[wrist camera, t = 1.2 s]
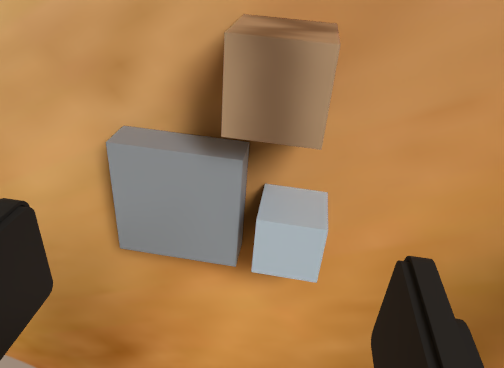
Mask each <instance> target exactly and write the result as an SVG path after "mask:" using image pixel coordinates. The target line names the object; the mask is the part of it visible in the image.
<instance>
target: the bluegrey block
mask: <svg viewBox="0 0 504 368" xmlns="http://www.w3.org/2000/svg"><path fill="white" fill-rule="evenodd" d="M327 233H328V192H321V191H314V190H307V189H300V188H293V187H285V186H278V185H271V184H265V186H264V190H263V194H262V199H261V203H260V207H259V211H258V215H257V219H256V229H255V239H254V250H253V260H252V271H251V272H255V273H261V274H267V275H273V276H279V277H285V278H292V279H298V280H304V281H310V282H316V283H317V279H318V275H319V270H320V265H321V261H322V256H323V252H324V247H325V242H326V238H327Z"/></svg>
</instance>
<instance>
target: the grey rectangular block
mask: <svg viewBox="0 0 504 368" xmlns="http://www.w3.org/2000/svg"><path fill="white" fill-rule="evenodd" d="M106 146H107V154H108V161H109V169H110V176H111V184H112V191H113V199H114V206H115V214H116V221H117V229H118V236H119V244H120V248H122V249H128V250H134V251H140V252H147V253H153V254H159V255H166V256H172V257H178V258H184V259H191V260H197V261H203V262H209V263H216V264H222V265H228V266H235V267H236V264H237V260H238V256H239V253H240V249H241V245H242V236H243V223H244V209H245V196H246V182H247V169H248V155H249V142H244V141H236V140H229V139H221V138H213V137H206V136H198V135H190V134H183V133H175V132H167V131H160V130H152V129H144V128H137V127H129V126H123V127H122V128H120V129H119V130H118V131H117V132H116V133H115V134H114V135H113V136H112V137H111V138H110V139H109V140H108V141H107V142H106Z"/></svg>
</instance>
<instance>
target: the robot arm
mask: <svg viewBox="0 0 504 368" xmlns="http://www.w3.org/2000/svg"><path fill="white" fill-rule="evenodd" d="M52 287H53V280H52V276H51V272H50V268H49V265H48V261H47V257H46V253H45V249H44V246H43V242H42V238H41V234H40V230H39V226H38V223H37V219H36V215H35V212H34V210H33V209H32V208H30V207H29V204H28V203H27V202H25V201H20V200H13V199H6V198H3V199H0V360H1V359H2V357H3V356H4V355H5V353H6V352H7V351H8V349H9V348H10V347H11V345H12V344H13V343H14V341H15V340H16V339H17V337H18V336H19V335H20V334H21V332H22V331H23V330H24V328H25V327H26V326H27V324H28V323H29V322H30V320H31V319H32V318H33V316H34V315H35V314H36V312H37V311H38V310H39V308H40V307H41V306H42V304H43V303H44V302H45V300H46V299H47V298H48V296H49V295H50V293H51V291H52ZM371 348H372V356H373V363H374V368H484V366H483V363H482V361H481V358H480V356H479V353H478V350H477V348H476V345H475V343H474V340H473V338H472V335H471V333H470V330H469V328H468V326H467V324H466V323H465V322H464V321H463V320H460V319H455V317H454V314H453V312H452V309H451V306H450V303H449V301H448V298H447V295H446V293H445V290H444V287H443V284H442V282H441V279H440V276H439V273H438V271H437V268H436V265H435V263H434V261H433V260H432V259H428V258H420V257H413V256H407V257H406V258H405V260H404V261H397V263H396V265H395V268H394V271H393V274H392V277H391V280H390V282H389V285H388V288H387V291H386V294H385V297H384V300H383V303H382V306H381V308H380V311H379V314H378V317H377V320H376V323H375V326H374V329H373V332H372V337H371Z"/></svg>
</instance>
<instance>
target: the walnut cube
mask: <svg viewBox="0 0 504 368" xmlns="http://www.w3.org/2000/svg"><path fill="white" fill-rule="evenodd" d="M339 50H340V39H339V32H338V26H337V24H336V23H326V22H316V21H306V20H297V19H287V18H277V17H267V16H257V15H247V14H243V15H242V16H241V17H240V18H239V19H238V20H237V21H236V22H235V23H234V24H233V25H232V26H231V27H230V28H229V29H227V30H226V31H225V36H224V67H223V97H222V128H221V137H227V138H235V139H243V140H250V141H258V142H266V143H273V144H281V145H289V146H296V147H304V148H312V149H319V150H321V149H322V144H323V138H324V133H325V127H326V122H327V116H328V111H329V105H330V99H331V94H332V88H333V83H334V77H335V72H336V66H337V61H338V55H339Z"/></svg>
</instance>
